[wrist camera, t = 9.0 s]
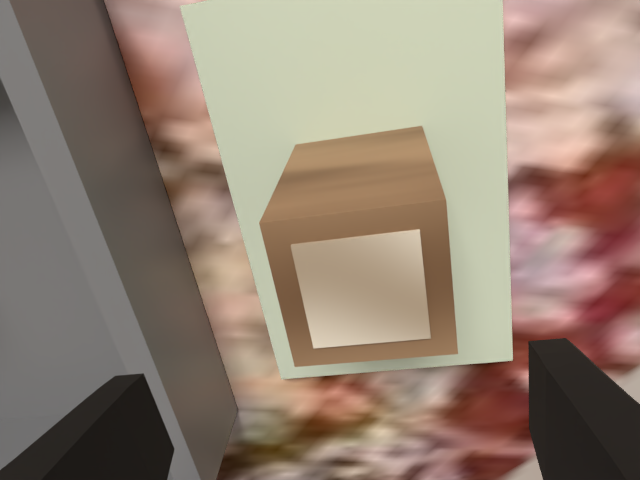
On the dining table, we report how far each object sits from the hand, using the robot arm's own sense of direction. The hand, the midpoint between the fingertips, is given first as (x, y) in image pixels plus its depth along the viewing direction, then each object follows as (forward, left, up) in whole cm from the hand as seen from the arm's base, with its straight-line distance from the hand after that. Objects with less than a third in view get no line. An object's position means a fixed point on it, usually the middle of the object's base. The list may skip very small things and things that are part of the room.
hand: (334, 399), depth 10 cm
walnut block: (+1, -1, -9) cm, 9 cm away
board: (0, -1, -9) cm, 9 cm away
